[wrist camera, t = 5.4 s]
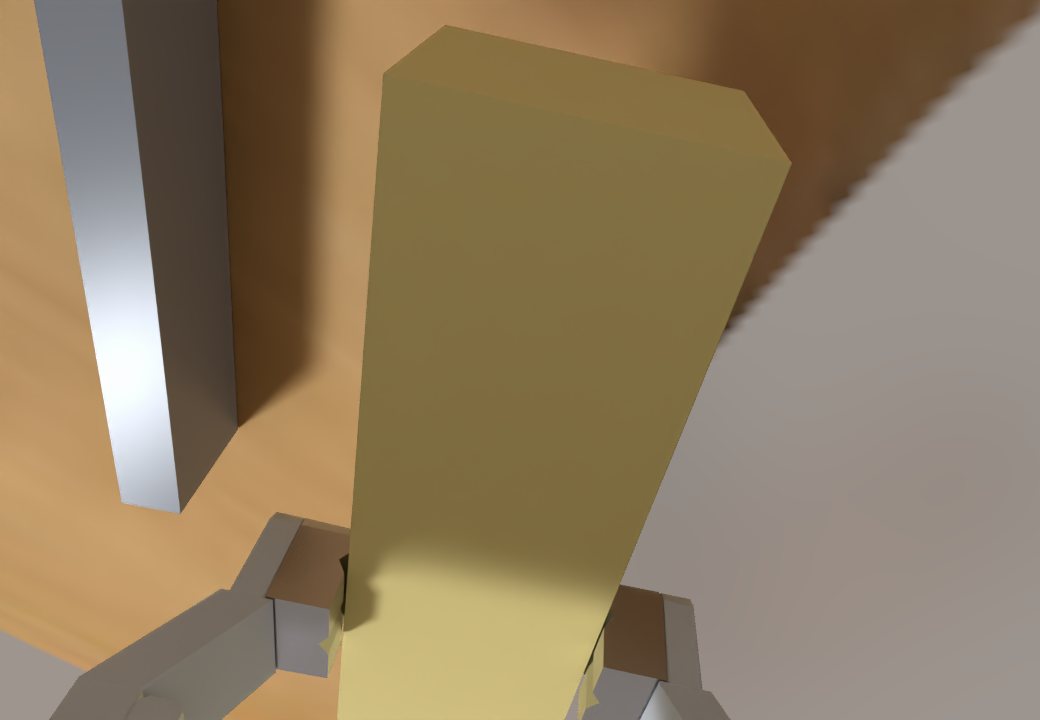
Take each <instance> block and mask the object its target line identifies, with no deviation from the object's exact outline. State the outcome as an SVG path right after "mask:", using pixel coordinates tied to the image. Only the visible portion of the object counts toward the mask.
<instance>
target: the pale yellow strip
mask: <svg viewBox="0 0 1040 720" xmlns="http://www.w3.org/2000/svg"><path fill="white" fill-rule="evenodd" d="M791 165H792V163H791V161H790V160H789V158H788V157H787V155H786V154H785V152H784V151H783V149H782V148H781V146H780V145H779V143H778V142H777V140H776V139H775V137H774V135H773V134H772V132H771V131H770V129H769V128H768V126H767V125H766V123H765V122H764V120H763V119H762V117H761V116H760V114H759V113H758V111H757V110H756V108H755V107H754V105H753V104H752V102H751V101H750V99H749V98H748V96H747V95H746V93H745V92H744V91H742V90H737V89H733V88H728V87H724V86H719V85H715V84H710V83H706V82H701V81H697V80H692V79H688V78H683V77H679V76H674V75H670V74H665V73H661V72H656V71H652V70H647V69H643V68H638V67H634V66H629V65H624V64H620V63H615V62H611V61H606V60H602V59H597V58H593V57H588V56H584V55H579V54H575V53H570V52H566V51H561V50H557V49H552V48H548V47H543V46H539V45H534V44H530V43H525V42H521V41H516V40H511V39H507V38H502V37H498V36H493V35H489V34H484V33H480V32H475V31H471V30H466V29H462V28H457V27H453V26H448V25H445V26H443V27H442V28H441V29H439V30H438V31H437V32H436V33H434V34H433V35H432V36H430V37H429V38H428V39H427V40H425V41H424V42H423V43H422V44H420V45H419V46H418V47H416V48H415V49H414V50H413V51H411V52H410V53H409V54H408V55H406V56H405V57H404V58H402V59H401V60H400V61H399V62H397V63H396V64H395V65H394V66H392V67H391V68H390V69H388V70H387V71H386V72H385V73H383V86H382V100H381V114H380V128H379V142H378V156H377V170H376V184H375V198H374V212H373V226H372V240H371V254H370V268H369V282H368V295H367V309H366V323H365V337H364V351H363V365H362V379H361V393H360V407H359V421H358V435H357V449H356V463H355V477H354V491H353V505H352V519H351V533H350V546H349V560H348V574H347V588H346V602H345V616H344V630H343V644H342V658H341V672H340V686H339V700H338V714H337V720H564V719H565V717H566V714H567V712H568V710H569V707H570V705H571V702H572V700H573V697H574V695H575V692H576V690H577V688H578V685H579V683H580V680H581V678H582V675H583V673H584V670H585V668H586V666H587V663H588V661H589V658H590V656H591V653H592V651H593V648H594V646H595V644H596V641H597V639H598V636H599V634H600V631H601V629H602V626H603V624H604V622H605V619H606V617H607V614H608V612H609V609H610V607H611V604H612V602H613V600H614V597H615V595H616V592H617V590H618V587H619V585H620V582H621V580H622V577H623V575H624V573H625V570H626V568H627V565H628V563H629V560H630V558H631V556H632V553H633V550H634V548H635V546H636V543H637V541H638V538H639V536H640V533H641V531H642V528H643V526H644V524H645V521H646V519H647V516H648V514H649V512H650V509H651V506H652V504H653V502H654V499H655V497H656V494H657V492H658V489H659V487H660V484H661V482H662V480H663V477H664V475H665V472H666V470H667V468H668V465H669V463H670V460H671V458H672V455H673V453H674V450H675V448H676V446H677V443H678V441H679V438H680V436H681V433H682V431H683V428H684V426H685V424H686V421H687V419H688V416H689V413H690V411H691V409H692V406H693V404H694V402H695V399H696V397H697V394H698V392H699V389H700V387H701V385H702V382H703V380H704V377H705V375H706V372H707V370H708V367H709V365H710V363H711V360H712V358H713V355H714V353H715V350H716V348H717V345H718V343H719V341H720V338H721V336H722V333H723V331H724V328H725V326H726V323H727V321H728V319H729V316H730V314H731V311H732V309H733V306H734V304H735V301H736V299H737V297H738V294H739V292H740V289H741V287H742V284H743V282H744V279H745V277H746V275H747V272H748V270H749V267H750V265H751V262H752V260H753V257H754V255H755V253H756V250H757V248H758V245H759V243H760V240H761V238H762V235H763V233H764V231H765V228H766V226H767V223H768V221H769V218H770V216H771V213H772V211H773V209H774V206H775V204H776V201H777V199H778V196H779V194H780V191H781V189H782V187H783V184H784V182H785V179H786V177H787V174H788V172H789V169H790V167H791Z"/></svg>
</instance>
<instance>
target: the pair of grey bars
mask: <svg viewBox="0 0 1040 720" xmlns="http://www.w3.org/2000/svg"><path fill="white" fill-rule="evenodd" d="M34 3H35V9H36V15H37V21H38V26H39V32H40V38H41V43H42V49H43V55H44V61H45V66H46V72H47V78H48V84H49V89H50V95H51V101H52V106H53V112H54V118H55V124H56V129H57V135H58V141H59V146H60V152H61V158H62V164H63V169H64V175H65V181H66V186H67V192H68V198H69V204H70V209H71V215H72V221H73V227H74V232H75V238H76V244H77V249H78V255H79V261H80V267H81V272H82V278H83V284H84V289H85V295H86V301H87V307H88V312H89V318H90V324H91V330H92V335H93V341H94V347H95V352H96V358H97V364H98V370H99V375H100V381H101V387H102V392H103V398H104V404H105V410H106V415H107V421H108V427H109V433H110V438H111V444H112V450H113V455H114V461H115V467H116V473H117V478H118V484H119V490H120V495H121V501H122V503H126V504H131V505H136V506H142V507H147V508H152V509H158V510H163V511H168V512H174V513H179V514H181V512H182V511H183V509H184V508H185V506H186V505H187V503H188V502H189V500H190V499H191V497H192V496H193V495H194V493H195V492H196V490H197V489H198V487H199V486H200V484H201V483H202V481H203V480H204V478H205V477H206V475H207V474H208V472H209V471H210V469H211V468H212V467H213V465H214V464H215V462H216V461H217V459H218V458H219V456H220V455H221V453H222V452H223V450H224V449H225V447H226V446H227V444H228V443H229V442H230V440H231V439H232V437H233V436H234V434H235V433H236V431H237V430H238V425H237V404H236V384H235V363H234V343H233V323H232V302H231V282H230V261H229V241H228V220H227V200H226V179H225V159H224V138H223V118H222V97H221V77H220V56H219V36H218V15H217V0H34Z"/></svg>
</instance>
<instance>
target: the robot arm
mask: <svg viewBox="0 0 1040 720" xmlns="http://www.w3.org/2000/svg"><path fill="white" fill-rule="evenodd" d="M350 533H351V529H349V528H345V527H340V526H336V525H332V524H328V523H324V522H319V521H315V520H311V519H307V518H302V517H297V516H293V515H288V514H284V513H279V512H276V513H275V514H274V515H273V516H272V517H271V518H270V519H269V521H268V523H267V525H266V527H265V528H264V530H263V532H262V534H261V535H260V537H259V539H258V541H257V543H256V544H255V546H254V548H253V550H252V552H251V553H250V555H249V557H248V559H247V560H246V562H245V564H244V566H243V568H242V569H241V571H240V573H239V575H238V577H237V578H236V580H235V582H234V584H233V586H232V587H231V589H230V590H225V589H220V590H218V591H217V592H215V593H213V594H212V595H210V596H209V597H207V598H205V599H204V600H202V601H200V602H199V603H197V604H196V605H194V606H192V607H191V608H189V609H188V610H186V611H184V612H183V613H181V614H179V615H178V616H176V617H175V618H173V619H171V620H170V621H168V622H167V623H165V624H163V625H162V626H160V627H159V628H157V629H155V630H154V631H152V632H150V633H149V634H147V635H146V636H144V637H142V638H141V639H139V640H138V641H136V642H134V643H133V644H131V645H129V646H128V647H126V648H125V649H123V650H121V651H120V652H118V653H117V654H115V655H113V656H112V657H110V658H109V659H107V660H105V661H104V662H102V663H100V664H99V665H97V666H96V667H94V668H92V669H91V670H89V671H88V672H86V673H84V674H83V675H81V676H79V677H78V679H77V680H76V682H75V683H74V685H73V686H72V688H71V689H70V690H69V692H68V693H67V695H66V696H65V698H64V699H63V701H62V702H61V704H60V705H59V706H58V708H57V709H56V711H55V712H54V714H53V715H52V716H51V718H50V720H222V719H223V718H224V717H225V716H226V715H227V714H228V713H230V712H231V711H232V710H233V709H234V708H235V707H236V706H238V705H239V704H240V703H241V702H242V701H243V700H244V699H246V698H247V697H248V696H249V695H250V694H251V693H253V692H254V691H255V690H256V689H257V688H258V687H259V686H261V685H262V684H263V683H264V682H265V681H266V680H267V679H269V678H270V677H271V676H272V675H273V674H274V673H275V672H276V669H280V670H285V671H291V672H296V673H302V674H307V675H313V676H318V677H324V678H328V675H329V673H330V670H331V668H332V665H333V662H334V660H335V657H336V654H337V652H338V649H339V646H340V644H341V636H342V624H343V623H344V616H345V602H346V588H347V574H348V560H349V546H350ZM584 674H585V677H584V680H583V682H582V685H581V687H580V690H579V697H578V720H730V718H729V717H728V715H727V714H726V713H725V711H724V710H723V708H722V707H721V705H720V704H719V702H718V701H717V700H716V698H715V697H714V695H713V694H712V693H711V692H709V691H705V690H702V681H701V673H700V663H699V654H698V644H697V635H696V625H695V616H694V607H693V604H692V602H691V600H690V599H686V598H681V597H677V596H672V595H667V594H662V593H659V592H655V591H650V590H645V589H640V588H635V587H630V586H625V585H619V587H618V590H617V592H616V595H615V597H614V600H613V602H612V604H611V607H610V609H609V612H608V614H607V617H606V619H605V622H604V624H603V626H602V629H601V631H600V634H599V636H598V639H597V641H596V644H595V646H594V648H593V651H592V653H591V656H590V658H589V661H588V663H587V666H586V668H585V670H584Z"/></svg>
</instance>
